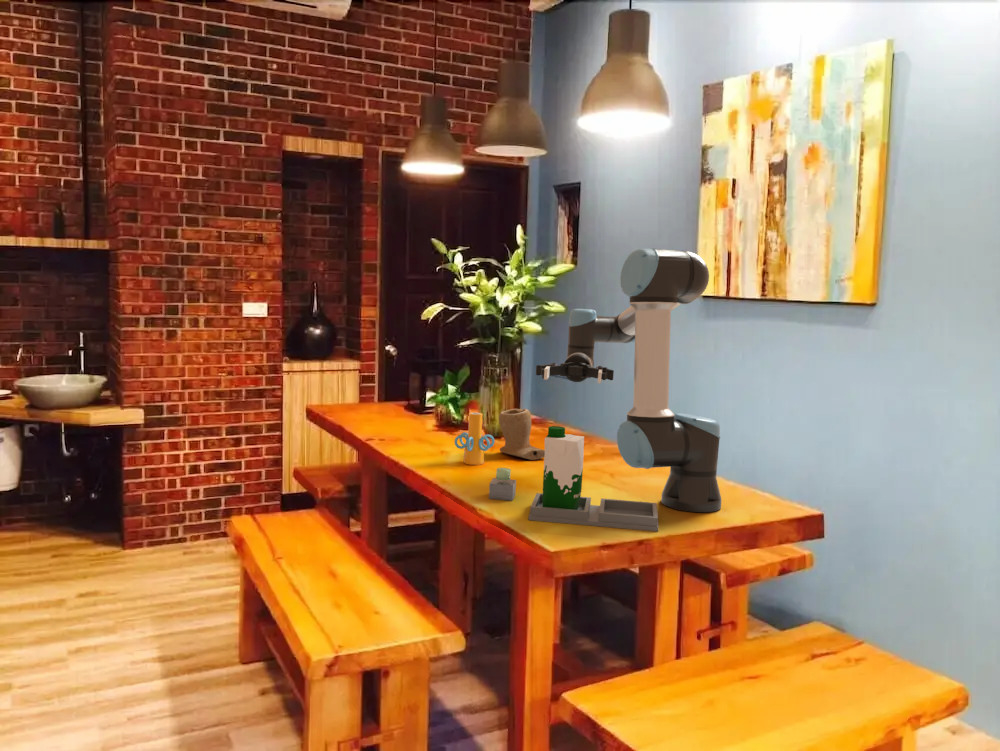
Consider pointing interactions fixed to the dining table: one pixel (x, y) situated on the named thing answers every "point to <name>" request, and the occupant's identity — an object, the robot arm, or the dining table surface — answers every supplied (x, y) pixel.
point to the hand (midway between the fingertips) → (572, 376)
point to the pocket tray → (600, 513)
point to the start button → (503, 474)
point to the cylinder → (474, 441)
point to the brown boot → (518, 434)
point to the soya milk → (562, 469)
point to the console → (502, 489)
